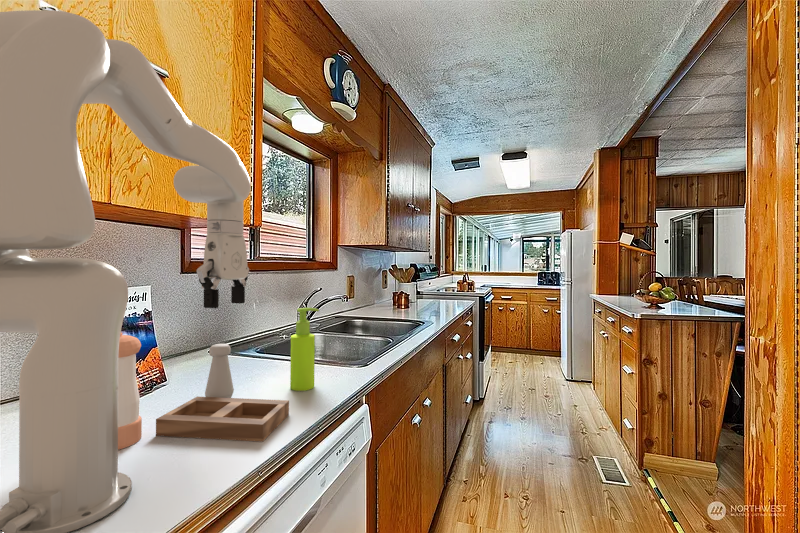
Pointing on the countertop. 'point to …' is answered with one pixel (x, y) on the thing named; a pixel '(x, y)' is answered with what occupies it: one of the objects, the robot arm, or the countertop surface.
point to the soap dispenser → (302, 354)
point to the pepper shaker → (128, 393)
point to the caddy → (224, 419)
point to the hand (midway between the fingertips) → (225, 305)
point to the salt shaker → (219, 373)
